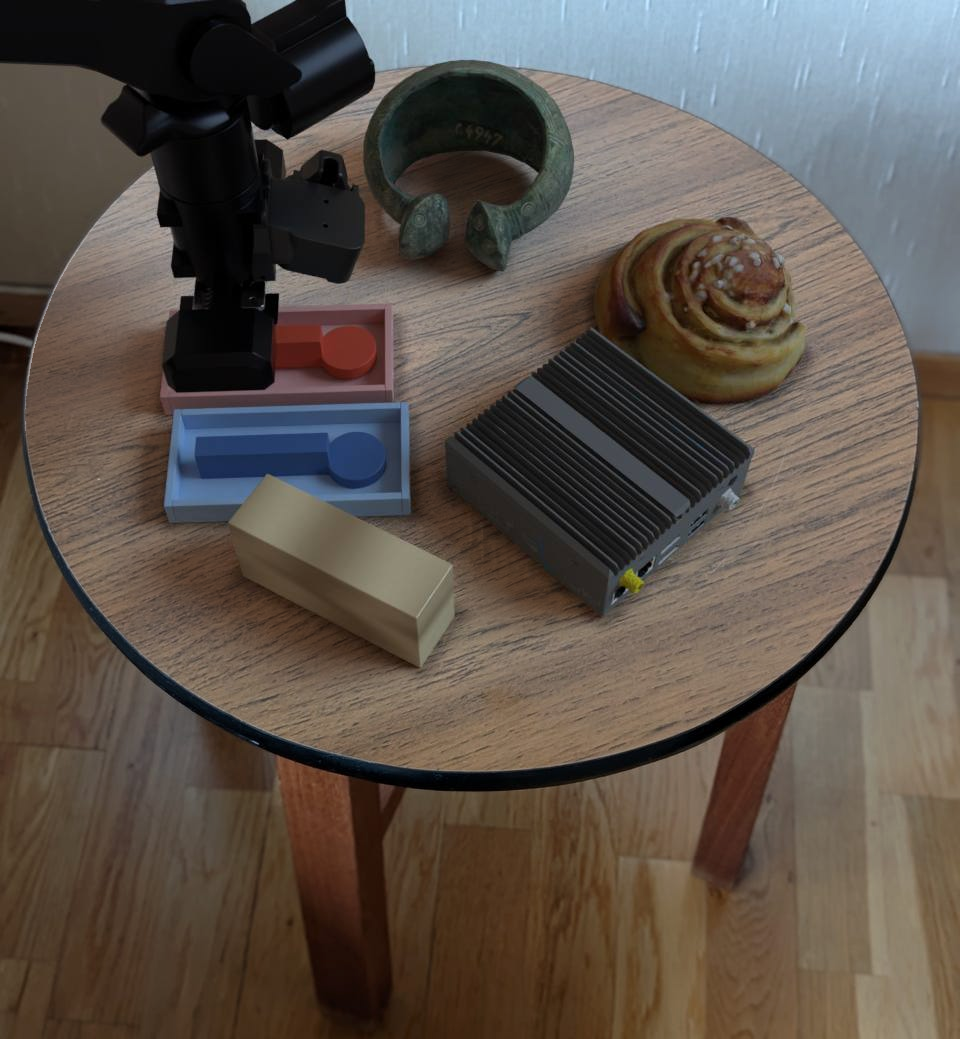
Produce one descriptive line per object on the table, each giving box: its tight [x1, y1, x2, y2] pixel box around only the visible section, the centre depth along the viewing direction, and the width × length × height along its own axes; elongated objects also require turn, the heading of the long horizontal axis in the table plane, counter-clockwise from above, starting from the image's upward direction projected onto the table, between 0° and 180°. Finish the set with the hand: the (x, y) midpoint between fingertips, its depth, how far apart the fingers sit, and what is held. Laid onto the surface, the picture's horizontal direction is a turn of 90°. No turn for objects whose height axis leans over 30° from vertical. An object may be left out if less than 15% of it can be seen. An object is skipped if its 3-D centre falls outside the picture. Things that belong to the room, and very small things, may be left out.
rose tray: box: [159, 303, 395, 416], centre depth 89 cm, size 15×8×2 cm, turn 92°
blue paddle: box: [194, 432, 386, 488], centre depth 84 cm, size 12×4×2 cm, turn 92°
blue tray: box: [163, 401, 412, 524], centre depth 84 cm, size 15×8×2 cm, turn 92°
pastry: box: [592, 216, 807, 404], centre depth 89 cm, size 13×15×8 cm
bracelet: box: [362, 59, 575, 272], centre depth 94 cm, size 15×15×10 cm
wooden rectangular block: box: [227, 474, 455, 668], centre depth 78 cm, size 13×4×6 cm, turn 60°
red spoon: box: [275, 325, 377, 379], centre depth 88 cm, size 12×4×2 cm, turn 92°
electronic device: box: [443, 326, 755, 618], centre depth 82 cm, size 13×15×5 cm
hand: (247, 350), depth 88 cm, fingers closed on red spoon, 1 cm apart
